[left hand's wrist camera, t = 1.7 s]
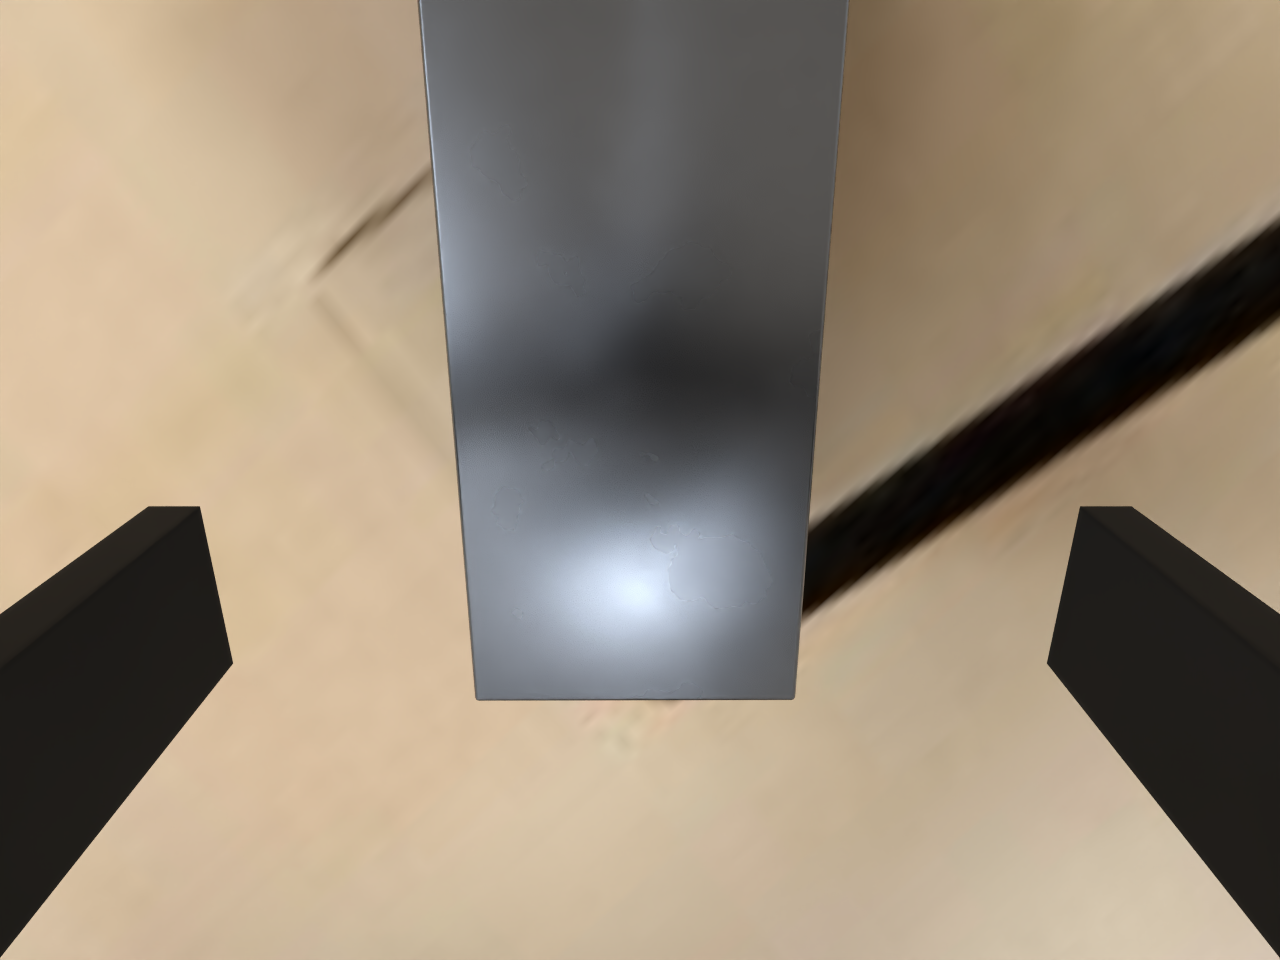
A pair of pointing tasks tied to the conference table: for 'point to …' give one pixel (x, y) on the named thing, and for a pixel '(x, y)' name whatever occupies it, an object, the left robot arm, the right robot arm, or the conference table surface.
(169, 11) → the conference table surface
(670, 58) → the bar
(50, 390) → the conference table surface
